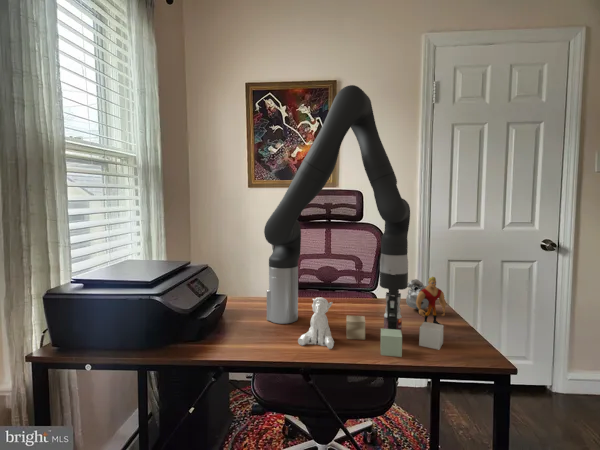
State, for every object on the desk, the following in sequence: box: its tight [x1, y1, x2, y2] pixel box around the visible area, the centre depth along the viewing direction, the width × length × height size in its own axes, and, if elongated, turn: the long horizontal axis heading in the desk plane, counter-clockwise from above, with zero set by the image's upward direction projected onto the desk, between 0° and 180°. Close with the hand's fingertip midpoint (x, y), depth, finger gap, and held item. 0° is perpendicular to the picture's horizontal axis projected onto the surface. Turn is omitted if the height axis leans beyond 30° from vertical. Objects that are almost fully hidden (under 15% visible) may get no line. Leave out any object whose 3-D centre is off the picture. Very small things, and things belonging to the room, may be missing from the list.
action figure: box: [416, 276, 447, 325], centre depth 108 cm, size 10×4×15 cm, turn 97°
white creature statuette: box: [297, 296, 335, 350], centre depth 95 cm, size 10×9×12 cm
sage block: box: [380, 327, 403, 358], centre depth 88 cm, size 5×5×5 cm
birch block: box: [345, 315, 366, 341], centre depth 99 cm, size 5×5×5 cm
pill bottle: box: [383, 306, 403, 332], centre depth 98 cm, size 5×5×8 cm
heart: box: [405, 278, 429, 311], centre depth 120 cm, size 10×10×12 cm
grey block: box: [418, 321, 445, 351], centre depth 93 cm, size 5×5×5 cm
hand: (392, 330), depth 98 cm, fingers closed on pill bottle, 4 cm apart
